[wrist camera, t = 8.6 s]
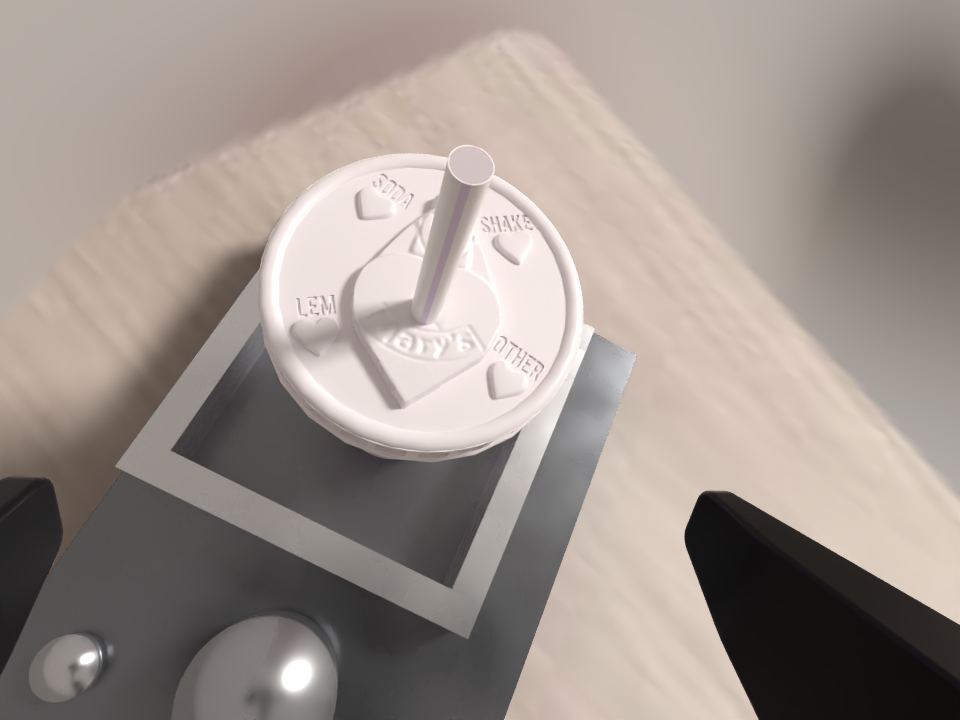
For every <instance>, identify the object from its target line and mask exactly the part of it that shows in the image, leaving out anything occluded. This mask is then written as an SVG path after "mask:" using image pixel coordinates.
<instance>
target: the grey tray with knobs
mask: <svg viewBox="0 0 960 720" xmlns="http://www.w3.org/2000/svg"><path fill="white" fill-rule="evenodd" d="M259 269H260V268H259ZM258 274H259V270H258V271H257V272H256V274H255V275H254V277H253V278H252V279H251V281H250V282H249V283H248V285H247V286H246V287H245V289H244V290H243V292H242V293H241V294H240V296H239V297H238V298H237V300H236V301H235V303H234V304H233V305H232V307H231V308H230V309H229V311H228V312H227V314H226V315H225V316H224V318H223V319H222V320H221V322H220V323H219V324H218V326H217V327H216V329H215V330H214V331H213V333H212V334H211V335H210V337H209V338H208V340H207V341H206V342H205V344H204V345H203V346H202V348H201V349H200V351H199V352H198V353H197V355H196V356H195V357H194V359H193V360H192V361H191V363H190V364H189V366H188V367H187V368H186V370H185V371H184V372H183V374H182V375H181V377H180V378H179V379H178V381H177V382H176V383H175V385H174V386H173V388H172V389H171V390H170V392H169V393H168V394H167V396H166V397H165V398H164V400H163V401H162V403H161V404H160V405H159V407H158V408H157V409H156V411H155V412H154V414H153V415H152V416H151V418H150V419H149V420H148V422H147V423H146V424H145V426H144V427H143V429H142V430H141V431H140V433H139V434H138V435H137V437H136V438H135V440H134V441H133V442H132V444H131V445H130V446H129V448H128V449H127V451H126V452H125V453H124V455H123V456H122V457H121V459H120V460H119V461H118V463H117V464H116V466H115V467H117V468H119V469H121V470H123V472H122V473H121V475H120V476H119V478H118V479H117V480H116V482H115V483H114V485H113V486H112V487H111V489H110V490H109V491H108V493H107V494H106V496H105V497H104V498H103V500H102V501H101V503H100V504H99V505H98V507H97V508H96V509H95V511H94V512H93V514H92V515H91V516H90V518H89V519H88V521H87V522H86V523H85V525H84V526H83V528H82V529H81V530H80V532H79V533H78V534H77V536H76V537H75V539H74V540H73V541H72V543H71V544H70V546H69V547H68V548H67V550H66V551H65V552H64V554H63V555H62V557H61V558H60V559H59V561H58V562H57V564H56V565H55V566H54V568H53V569H52V571H51V572H50V573H49V575H48V576H47V577H46V579H45V581H44V583H43V586H42V588H41V590H40V592H39V595H38V597H37V599H36V601H35V603H34V606H33V608H32V610H31V612H30V615H29V617H28V619H27V621H26V624H25V626H24V628H23V630H22V632H21V635H20V637H19V639H18V641H17V644H16V646H15V648H14V650H13V652H12V654H11V656H10V658H9V660H8V662H7V665H6V667H5V669H4V671H3V672H2V674H1V676H0V720H504V718H505V715H506V712H507V710H508V707H509V704H510V701H511V699H512V696H513V693H514V690H515V688H516V685H517V682H518V679H519V677H520V674H521V671H522V668H523V666H524V663H525V660H526V658H527V655H528V652H529V649H530V647H531V644H532V641H533V638H534V636H535V633H536V630H537V627H538V625H539V622H540V619H541V616H542V614H543V611H544V608H545V605H546V603H547V600H548V597H549V595H550V592H551V589H552V586H553V584H554V581H555V578H556V575H557V573H558V570H559V567H560V564H561V562H562V559H563V556H564V553H565V551H566V548H567V545H568V542H569V540H570V537H571V534H572V532H573V529H574V526H575V523H576V521H577V518H578V515H579V512H580V510H581V507H582V504H583V501H584V499H585V496H586V493H587V490H588V488H589V485H590V482H591V479H592V477H593V474H594V471H595V469H596V466H597V463H598V460H599V458H600V455H601V452H602V449H603V447H604V444H605V441H606V438H607V436H608V433H609V430H610V427H611V425H612V422H613V419H614V416H615V414H616V411H617V408H618V406H619V403H620V400H621V397H622V395H623V392H624V389H625V386H626V384H627V381H628V378H629V375H630V373H631V370H632V367H633V364H634V362H635V359H636V356H637V355H635V354H633V353H631V352H629V351H627V350H625V349H623V348H622V347H620V346H618V345H616V344H614V343H612V342H610V341H608V340H606V339H605V338H603V337H601V336H599V335H597V334H595V333H593V332H594V330H595V329H594V328H592V327H590V326H588V325H587V324H585V323H583V327H582V335H581V340H580V345H579V348H578V352H577V355H576V358H575V361H574V363H573V366H572V368H571V370H570V372H569V374H568V376H567V378H566V380H565V381H564V383H563V385H562V386H561V388H560V389H559V390H558V392H557V393H556V395H555V396H554V397H553V398H552V399H551V401H550V402H549V403H548V404H547V405H546V406H545V407H544V408H543V409H542V411H541V412H540V413H539V414H538V415H536V416H535V417H534V418H533V419H532V420H531V421H530V422H529V423H527V424H526V425H525V426H524V427H523V428H522V429H521V430H520V431H518V432H517V433H516V434H515V435H514V436H513V437H511V438H509V439H507V440H505V441H503V442H501V443H499V444H497V445H495V446H493V447H491V448H488V449H486V450H484V451H482V452H480V453H478V454H476V455H472V456H466V457H460V458H455V459H449V460H444V461H438V462H422V461H410V460H399V459H384V458H380V457H376V456H374V455H371V454H369V453H367V452H366V451H364V450H362V449H361V448H358V447H355V446H352V445H350V444H347V443H345V442H343V441H342V440H341V439H339V438H338V437H336V436H335V435H334V434H332V433H331V432H329V431H328V430H326V429H325V428H324V427H322V426H321V425H319V424H318V423H317V422H315V421H314V420H312V419H311V418H309V417H308V416H307V414H306V413H305V412H304V411H303V410H302V408H301V407H300V406H299V405H298V403H297V402H296V401H295V400H294V398H293V397H292V396H291V395H290V393H289V392H288V391H287V390H286V389H285V387H284V386H283V385H282V384H281V382H280V380H279V378H278V375H277V373H276V370H275V368H274V366H273V363H272V361H271V358H270V356H269V354H268V351H267V349H266V346H265V344H264V337H263V330H262V326H261V322H260V316H259V310H258V297H257V286H258Z"/></svg>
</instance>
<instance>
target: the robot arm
mask: <svg viewBox="0 0 960 720" xmlns="http://www.w3.org/2000/svg"><path fill="white" fill-rule="evenodd" d="M62 535H63V528H62V523H61V518H60V513H59V509H58V504H57V500H56V495H55V491H54V487H53V484H52V483H51V481H50V480H49V479H47V478H44V477H21V476H14V477H7V478H4V479H2V480H0V676H1V674H2V672H3V671H4V669H5V667H6V665H7V662H8V660H9V658H10V656H11V654H12V652H13V650H14V648H15V646H16V644H17V641H18V639H19V637H20V635H21V632H22V630H23V628H24V626H25V624H26V621H27V619H28V617H29V615H30V612H31V610H32V608H33V606H34V603H35V601H36V599H37V597H38V595H39V592H40V590H41V588H42V586H43V583H44V581H45V579H46V577H47V574H48V572H49V570H50V568H51V566H52V563H53V561H54V559H55V557H56V554H57V552H58V550H59V547H60V545H61V541H62ZM685 545H686V548H687V551H688V554H689V557H690V559H691V562H692V565H693V567H694V570H695V573H696V575H697V578H698V581H699V584H700V586H701V589H702V592H703V594H704V597H705V600H706V602H707V605H708V608H709V611H710V613H711V616H712V619H713V621H714V624H715V626H716V629H717V631H718V634H719V636H720V639H721V641H722V643H723V646H724V648H725V650H726V652H727V654H728V657H729V659H730V661H731V663H732V665H733V667H734V669H735V671H736V673H737V675H738V677H739V680H740V682H741V684H742V686H743V688H744V690H745V692H746V694H747V696H748V698H749V700H750V703H751V705H752V707H753V709H754V711H755V713H756V715H757V717H758V719H759V720H960V625H959V624H957V623H956V622H954V621H952V620H950V619H949V618H947V617H945V616H944V615H942V614H940V613H938V612H937V611H935V610H933V609H931V608H930V607H928V606H926V605H925V604H923V603H921V602H919V601H918V600H916V599H914V598H912V597H911V596H909V595H907V594H906V593H904V592H902V591H900V590H899V589H897V588H895V587H893V586H892V585H890V584H888V583H887V582H885V581H883V580H881V579H880V578H878V577H876V576H874V575H873V574H871V573H869V572H868V571H866V570H864V569H862V568H861V567H859V566H857V565H855V564H854V563H852V562H850V561H849V560H847V559H845V558H843V557H842V556H840V555H838V554H837V553H835V552H833V551H831V550H830V549H828V548H826V547H824V546H823V545H821V544H819V543H818V542H816V541H814V540H812V539H811V538H809V537H807V536H805V535H804V534H802V533H800V532H799V531H797V530H795V529H793V528H792V527H790V526H788V525H786V524H785V523H783V522H781V521H780V520H778V519H776V518H774V517H773V516H771V515H769V514H767V513H766V512H764V511H762V510H761V509H759V508H757V507H755V506H754V505H752V504H750V503H748V502H747V501H745V500H743V499H742V498H740V497H738V496H736V495H735V494H733V493H731V492H728V491H705V492H703V493H702V494H701V495H700V496H699V497H698V499H697V502H696V504H695V507H694V509H693V512H692V514H691V517H690V519H689V522H688V524H687V526H686V529H685Z"/></svg>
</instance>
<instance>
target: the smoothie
mask: <svg viewBox="0 0 960 720" xmlns="http://www.w3.org/2000/svg"><path fill="white" fill-rule="evenodd" d="M494 171H495V166H494V162H493V160H492V158H491V156H490V155H489V154H488V153H487V152H486V151H484V150H483V149H481V148H479V147H477V146H473V145H462V146H459V147H457V148H455V149H454V150H452V152H451V153H450V154H449V157H448V158H447V157H441V156H436V155H427V154H408V153H403V154H389V155H383V156H376V157H372V158H368V159H364V160H360V161H357V162H354V163H351V164H348V165H346V166H344V167H341V168H339V169H337V170H335V171H333V172H331V173H329V174H327V175H326V176H324V177H322V178H321V179H319V180H318V181H316V182H315V183H313V184H312V185H311V186H309V187H308V188H307V189H306V190H305V191H304V192H302V193H301V194H300V195H299V196H298V197H297V198H296V199H295V200H294V201H293V202H292V203H291V204H290V205H289V207H288V208H287V209H286V210H285V212H284V213H283V215H282V216H281V217H280V219H279V220H278V222H277V224H276V225H275V227H274V229H273V230H272V232H271V235H270V237H269V239H268V241H267V244H266V246H265V249H264V252H263V256H262V259H261V263H260V269H259V274H258V286H257V297H258V310H259V316H260V322H261V326H262V330H263V337H264V344H265V346H266V349H267V351H268V354H269V356H270V358H271V361H272V363H273V366H274V368H275V370H276V373H277V375H278V378H279V380H280V382H281V384H282V385H283V386H284V387H285V389H286V390H287V391H288V392H289V393H290V395H291V396H292V397H293V398H294V400H295V401H296V402H297V403H298V405H299V406H300V407H301V408H302V410H303V411H304V412H305V413H306V414H307V416H308V417H309V418H311V419H312V420H314V421H315V422H317V423H318V424H319V425H321V426H322V427H324V428H325V429H326V430H328V431H329V432H331V433H332V434H334V435H335V436H336V437H338V438H339V439H341V440H342V441H343V442H345V443H347V444H350V445H352V446H355V447H358V448H361V449H362V450H364V451H366V452H367V453H369V454H371V455H374V456H376V457H380V458H384V459H399V460H410V461H422V462H438V461H444V460H449V459H455V458H460V457H466V456H472V455H476V454H478V453H480V452H482V451H484V450H486V449H488V448H491V447H493V446H495V445H497V444H499V443H501V442H503V441H505V440H507V439H509V438H511V437H513V436H514V435H515V434H516V433H517V432H518V431H520V430H521V429H522V428H523V427H524V426H525V425H526V424H527V423H529V422H530V421H531V420H532V419H533V418H534V417H535V416H536V415H538V414H539V413H540V412H541V411H542V409H543V408H544V407H545V406H546V405H547V404H548V403H549V402H550V401H551V399H552V398H553V397H554V396H555V395H556V393H557V392H558V390H559V389H560V388H561V386H562V385H563V383H564V381H565V380H566V378H567V376H568V374H569V372H570V370H571V368H572V366H573V363H574V361H575V358H576V355H577V352H578V348H579V345H580V340H581V335H582V327H583V299H582V292H581V286H580V282H579V277H578V274H577V271H576V268H575V265H574V262H573V260H572V257H571V255H570V253H569V250H568V248H567V247H566V245H565V243H564V241H563V239H562V237H561V236H560V234H559V233H558V231H557V230H556V228H555V227H554V226H553V224H552V223H551V222H550V220H549V219H548V218H547V217H546V215H545V214H544V213H543V212H542V211H541V210H540V209H539V208H538V207H537V206H536V205H535V204H534V203H533V202H532V201H531V200H530V199H529V198H527V197H526V196H525V195H524V194H523V193H521V192H520V191H519V190H517V189H516V188H515V187H513V186H512V185H510V184H509V183H507V182H506V181H504V180H503V179H501V178H499V177H497V176H495V175H494Z"/></svg>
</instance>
